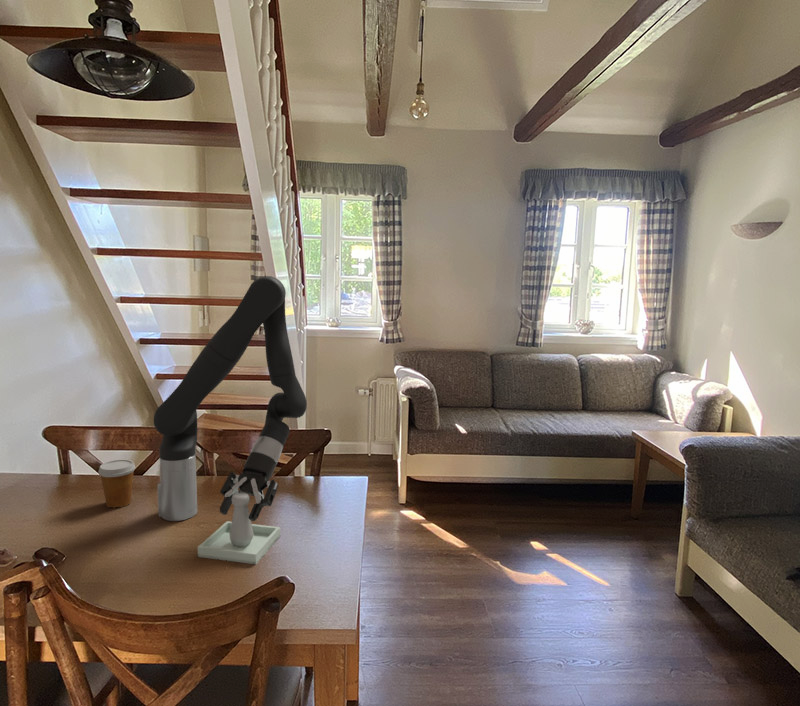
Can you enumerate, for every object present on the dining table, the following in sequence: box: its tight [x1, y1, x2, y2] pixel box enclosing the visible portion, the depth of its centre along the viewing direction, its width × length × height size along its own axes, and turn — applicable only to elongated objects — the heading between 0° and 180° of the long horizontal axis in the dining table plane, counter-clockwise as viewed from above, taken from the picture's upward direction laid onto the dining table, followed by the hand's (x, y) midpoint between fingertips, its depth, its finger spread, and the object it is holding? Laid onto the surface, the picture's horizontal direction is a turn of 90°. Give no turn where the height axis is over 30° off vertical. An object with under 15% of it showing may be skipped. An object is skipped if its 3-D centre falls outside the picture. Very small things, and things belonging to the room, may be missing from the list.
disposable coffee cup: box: [97, 459, 136, 509], centre depth 154 cm, size 10×10×12 cm
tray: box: [197, 520, 281, 565], centre depth 133 cm, size 15×14×2 cm
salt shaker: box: [230, 492, 254, 548], centre depth 132 cm, size 6×6×13 cm
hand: (236, 516), depth 131 cm, fingers open, 8 cm apart
